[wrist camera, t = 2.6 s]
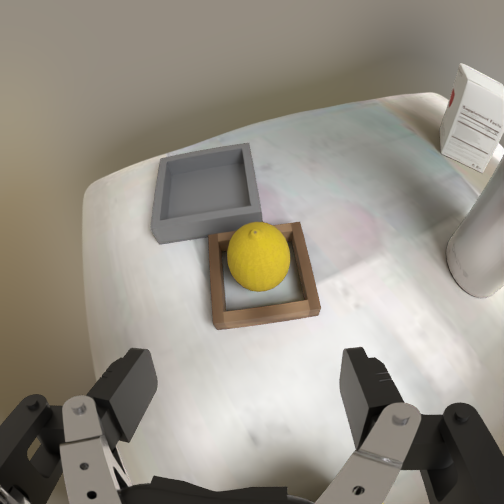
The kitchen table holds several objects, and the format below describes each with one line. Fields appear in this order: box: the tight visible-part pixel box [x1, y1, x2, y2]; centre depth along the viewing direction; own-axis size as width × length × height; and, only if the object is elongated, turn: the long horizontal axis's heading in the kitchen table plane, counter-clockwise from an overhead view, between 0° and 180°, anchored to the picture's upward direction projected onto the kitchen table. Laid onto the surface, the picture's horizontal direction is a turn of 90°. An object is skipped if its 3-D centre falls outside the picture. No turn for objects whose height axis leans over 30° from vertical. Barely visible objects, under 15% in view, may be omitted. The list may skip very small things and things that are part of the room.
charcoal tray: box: [151, 143, 263, 244], centre depth 34 cm, size 12×12×3 cm
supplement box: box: [440, 63, 504, 173], centre depth 32 cm, size 9×9×15 cm
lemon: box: [227, 222, 290, 292], centre depth 26 cm, size 6×6×8 cm
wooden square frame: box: [208, 222, 321, 330], centre depth 28 cm, size 10×10×2 cm
